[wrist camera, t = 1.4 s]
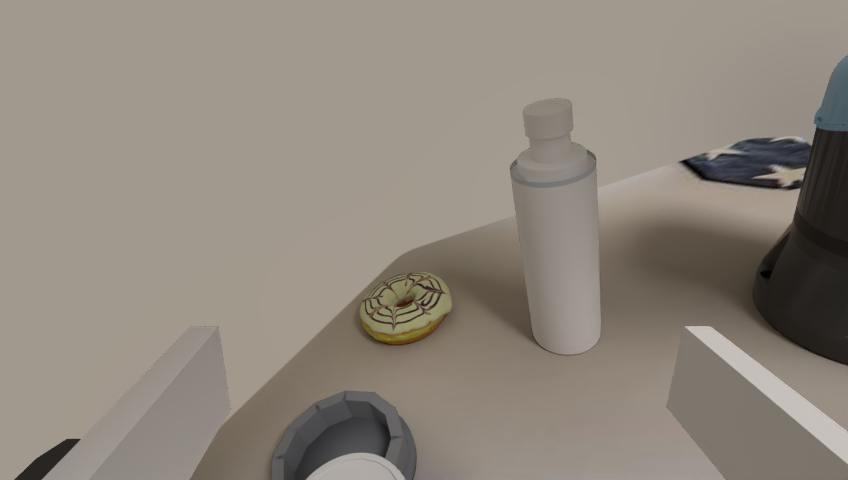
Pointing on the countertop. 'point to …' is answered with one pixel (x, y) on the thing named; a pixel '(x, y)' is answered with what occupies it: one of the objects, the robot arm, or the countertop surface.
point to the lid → (344, 436)
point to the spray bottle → (558, 230)
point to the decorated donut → (405, 307)
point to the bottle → (357, 468)
